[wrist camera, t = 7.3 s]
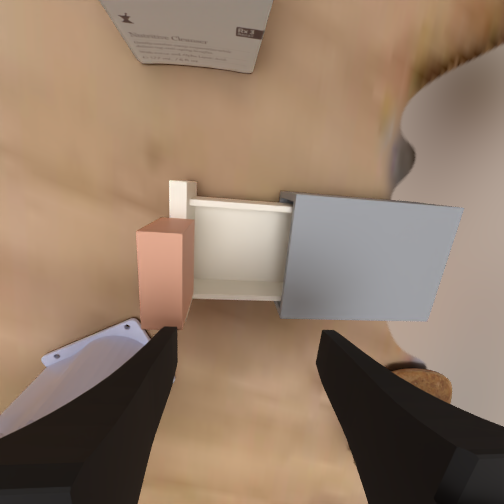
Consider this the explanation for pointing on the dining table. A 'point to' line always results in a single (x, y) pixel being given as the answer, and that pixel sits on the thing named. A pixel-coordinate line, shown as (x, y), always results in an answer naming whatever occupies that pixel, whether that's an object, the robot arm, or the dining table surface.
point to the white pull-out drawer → (209, 254)
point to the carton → (364, 257)
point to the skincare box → (192, 31)
